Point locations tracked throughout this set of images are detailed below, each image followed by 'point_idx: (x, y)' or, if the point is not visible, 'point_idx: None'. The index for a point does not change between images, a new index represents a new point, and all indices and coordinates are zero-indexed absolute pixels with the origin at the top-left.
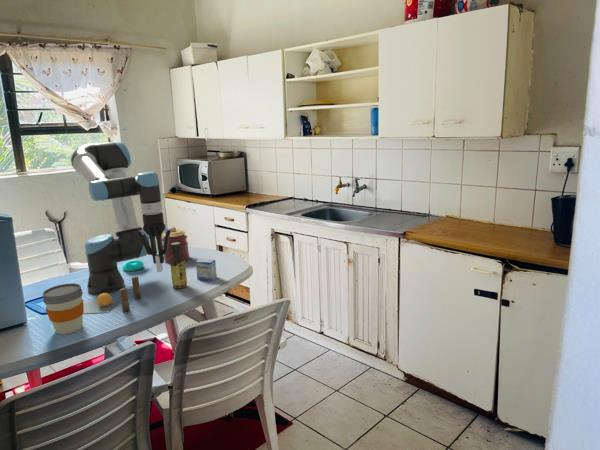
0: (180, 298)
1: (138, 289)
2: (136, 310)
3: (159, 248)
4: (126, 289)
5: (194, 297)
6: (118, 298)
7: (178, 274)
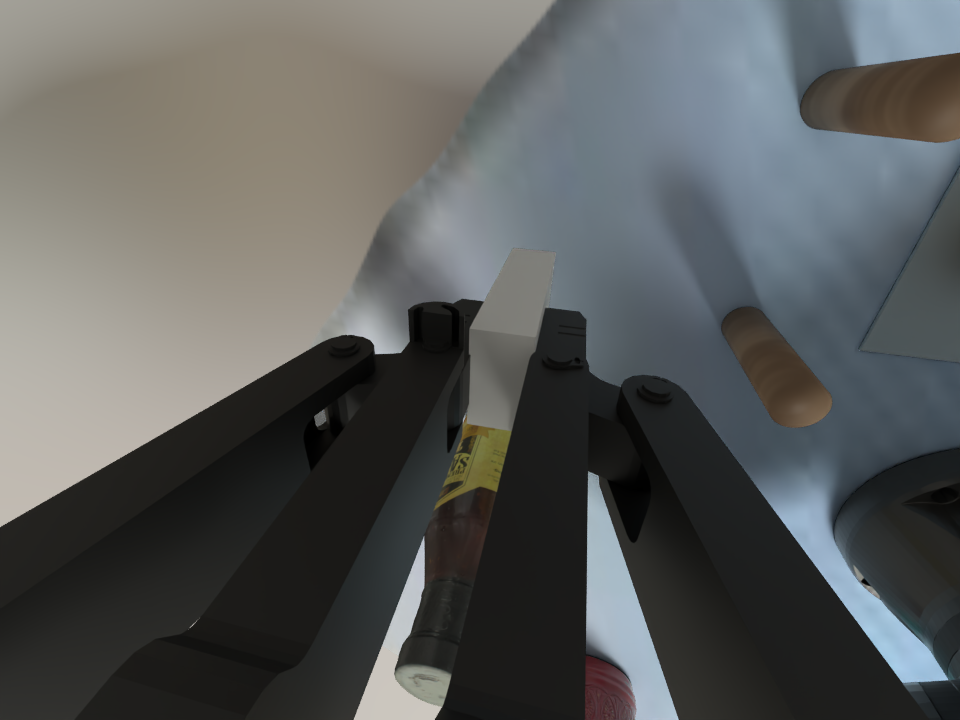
0: (469, 260)
1: (749, 342)
2: (746, 104)
3: (392, 412)
4: (912, 96)
5: (392, 258)
6: (886, 343)
7: (480, 442)
